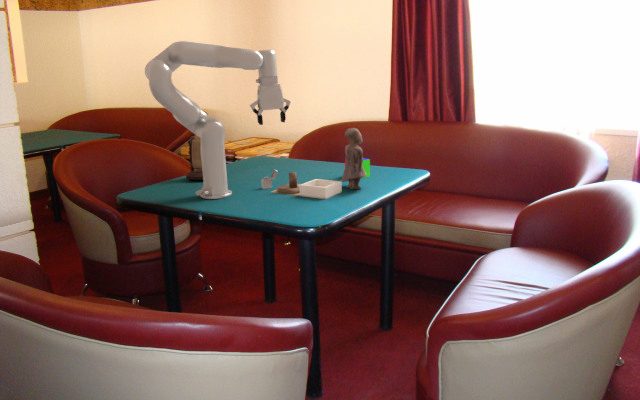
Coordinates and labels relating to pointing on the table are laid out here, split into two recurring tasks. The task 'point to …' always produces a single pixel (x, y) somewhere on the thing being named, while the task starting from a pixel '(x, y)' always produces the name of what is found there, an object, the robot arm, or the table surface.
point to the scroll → (195, 159)
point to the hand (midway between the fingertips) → (272, 123)
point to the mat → (283, 193)
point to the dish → (320, 188)
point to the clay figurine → (353, 159)
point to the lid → (290, 185)
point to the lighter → (268, 180)
